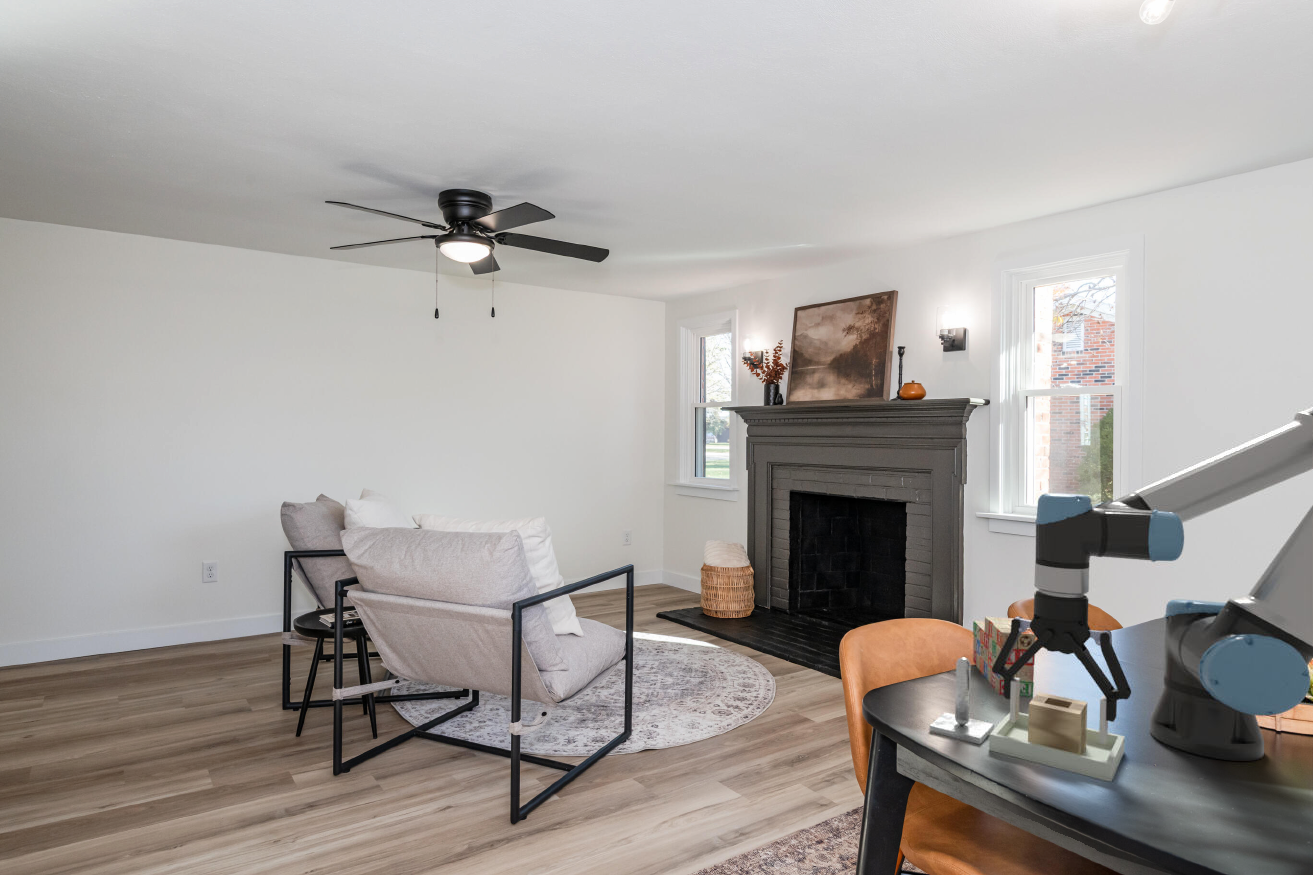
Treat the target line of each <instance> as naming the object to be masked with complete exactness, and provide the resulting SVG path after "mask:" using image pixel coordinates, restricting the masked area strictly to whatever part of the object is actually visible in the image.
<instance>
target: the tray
mask: <svg viewBox="0 0 1313 875" xmlns="http://www.w3.org/2000/svg"><path fill="white" fill-rule="evenodd" d="M1028 720H1029V713H1023V712H1020V711H1019V719H1018V720H1017V721H1016V722H1015V723H1013V722H1010V712H1009V713H1008V714H1007V715H1006V716H1005V717H1004V718H1003V719H1002V720H1001V721H1000V722H999V723H998V725H997V726H995V727H994V730H993V731H992V732H991V733H990V734H989V736H988V738H989V742H988V750H989V751H991V752H996V753H999V754H1002V755H1005V756H1006V755H1007V756H1010V757H1014V758H1018V759H1022V760H1025V761H1029V762H1034V763H1038V764H1041V765H1045V766H1049V767H1051V768H1056V769H1060V770H1063V771H1068V772H1072V773H1075V774H1079V775H1083V776H1087V777H1090V778H1095V779H1098V780H1102V781H1106V782H1110V783H1112V781H1113V779H1114V777H1115V775H1116V773H1117V770H1118V767H1119V765H1120V763H1121V762H1122V758H1123V756H1124V754H1125V743H1126V742H1125V740H1126V739H1125V735H1120V734H1116V733H1111V732H1108V739H1107V741H1106V743H1105V744H1103V743H1099V730H1098V729H1095V728H1090V727H1087V732H1086V748H1085V749H1084V751H1083V753H1082V755H1079V754H1075V753H1071V752H1067V751H1063V750H1059V749H1055V748H1051V747H1047V746H1043V745H1039V744H1035V743H1031V742H1028Z"/></svg>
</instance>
